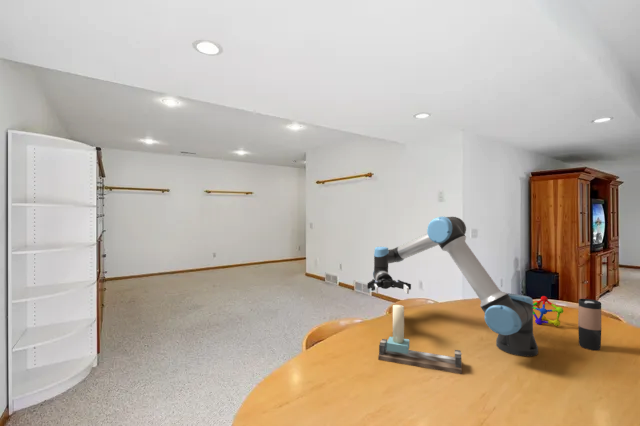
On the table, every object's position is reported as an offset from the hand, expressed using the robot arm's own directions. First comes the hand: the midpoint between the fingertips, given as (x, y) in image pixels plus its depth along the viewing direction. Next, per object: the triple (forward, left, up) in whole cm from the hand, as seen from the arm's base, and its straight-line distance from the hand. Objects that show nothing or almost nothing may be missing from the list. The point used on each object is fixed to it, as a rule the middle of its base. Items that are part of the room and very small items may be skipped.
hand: (392, 290), depth 139 cm
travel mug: (-80, -28, -24) cm, 88 cm away
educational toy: (-70, -54, -24) cm, 92 cm away
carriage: (-4, +13, -20) cm, 24 cm away
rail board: (-12, +13, -23) cm, 29 cm away
